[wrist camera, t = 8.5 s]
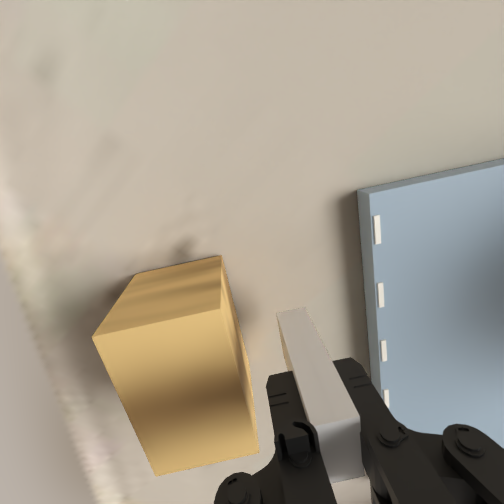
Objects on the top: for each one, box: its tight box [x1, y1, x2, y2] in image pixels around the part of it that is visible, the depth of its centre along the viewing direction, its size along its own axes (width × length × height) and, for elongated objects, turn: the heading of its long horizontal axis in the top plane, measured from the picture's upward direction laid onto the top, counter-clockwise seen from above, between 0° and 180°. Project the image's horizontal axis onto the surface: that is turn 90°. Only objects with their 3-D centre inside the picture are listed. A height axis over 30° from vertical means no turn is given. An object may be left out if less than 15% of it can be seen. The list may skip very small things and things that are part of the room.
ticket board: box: [357, 158, 504, 448], centre depth 20 cm, size 24×10×2 cm, turn 11°
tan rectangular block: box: [92, 255, 259, 476], centre depth 16 cm, size 8×5×6 cm, turn 11°
